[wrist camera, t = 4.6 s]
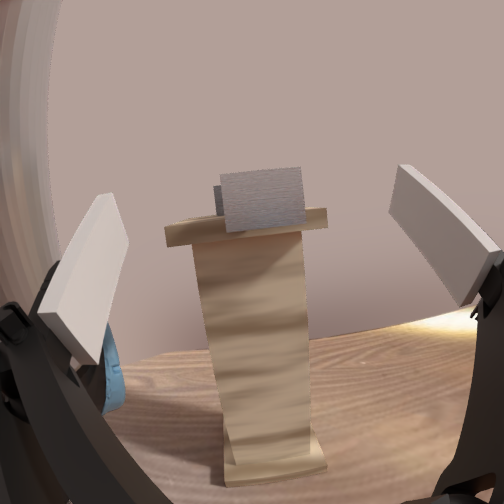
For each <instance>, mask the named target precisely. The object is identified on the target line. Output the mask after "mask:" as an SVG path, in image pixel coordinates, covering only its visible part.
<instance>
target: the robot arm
mask: <svg viewBox="0 0 504 504" xmlns="http://www.w3.org/2000/svg"><path fill="white" fill-rule="evenodd" d="M61 2H62V0H0V504H66V503H67V501H68V500H69V499H70V500H71V502H72V503H73V504H173V503H172V502H171V501H170V500H169V499H168V498H167V497H166V496H165V495H164V494H163V493H162V492H161V490H160V489H159V488H158V487H157V486H156V485H155V484H154V483H153V482H152V481H151V479H150V478H149V477H148V476H147V475H146V474H145V473H144V471H143V470H142V469H141V468H140V467H139V465H138V464H137V463H136V462H135V461H134V459H133V458H132V457H131V456H130V454H129V453H128V452H127V450H126V449H125V448H124V446H123V445H122V444H121V442H120V441H119V440H118V438H117V437H116V436H115V434H114V433H113V431H112V430H111V429H110V427H109V426H108V424H107V423H106V421H105V420H104V418H103V417H102V415H104V414H106V413H107V412H110V411H113V410H116V409H118V408H120V407H121V406H122V405H123V403H124V401H125V395H126V394H125V384H124V378H123V374H122V370H121V368H120V366H119V365H120V364H119V357H118V353H117V349H116V345H115V342H114V338H113V335H112V332H111V329H110V326H109V324H108V317H109V313H110V309H111V304H112V300H113V296H114V293H115V289H116V286H117V282H118V278H119V275H120V272H121V268H122V265H123V261H124V258H125V255H126V252H127V248H128V245H129V239H128V237H127V234H126V231H125V228H124V226H123V223H122V220H121V217H120V214H119V211H118V208H117V205H116V202H115V198H114V195H113V193H112V192H111V193H107V194H102V195H98V196H97V197H96V199H95V200H94V202H93V204H92V205H91V207H90V209H89V210H88V212H87V213H86V215H85V217H84V219H83V220H82V222H81V224H80V225H79V227H78V229H77V231H76V232H75V234H74V236H73V238H72V240H71V242H70V244H69V245H68V247H67V249H66V251H65V253H64V255H63V257H62V256H61V251H60V246H59V241H58V235H57V229H56V224H55V218H54V211H53V203H52V195H51V186H50V176H49V161H48V139H47V111H48V89H49V76H50V65H51V57H52V49H53V43H54V36H55V31H56V25H57V20H58V15H59V11H60V7H61ZM389 214H390V215H391V216H392V217H393V218H394V220H395V221H396V222H397V223H398V224H399V225H400V227H401V228H402V229H403V230H404V232H405V233H406V234H407V235H408V236H409V238H410V239H411V240H412V242H413V243H414V244H415V246H416V247H417V248H418V249H419V251H420V252H421V253H422V255H423V256H424V257H425V259H426V260H427V261H428V263H429V264H430V265H431V267H432V268H433V269H434V271H435V272H436V274H437V275H438V276H439V278H440V279H441V281H442V282H443V284H444V285H445V286H446V288H447V289H448V291H449V292H450V294H451V295H452V297H453V298H454V300H455V301H456V303H457V305H458V306H459V307H462V306H465V305H468V304H471V303H472V301H473V300H474V298H475V297H476V295H477V293H478V292H479V294H480V295H481V297H482V298H481V300H480V301H479V303H478V304H477V306H476V307H475V309H474V310H473V312H472V313H471V316H470V318H473V316H474V315H475V313H478V315H477V317H476V318H475V320H477V321H478V325H477V341H476V352H475V361H474V369H473V377H472V383H471V389H470V395H469V400H468V405H467V410H466V415H465V419H464V423H463V427H462V431H461V435H460V439H459V442H458V446H457V449H456V452H455V455H454V458H453V460H452V461H451V463H450V464H449V465H448V466H447V467H446V469H445V470H444V471H443V473H442V474H441V476H440V478H439V480H438V482H437V485H436V487H435V489H434V492H433V494H432V496H431V497H429V498H424V499H418V500H412V501H406V502H403V503H401V504H504V252H503V251H502V250H501V249H500V248H499V246H498V245H497V244H496V243H495V242H494V241H493V240H492V239H491V238H490V237H489V236H488V234H486V233H485V231H484V230H483V229H482V228H480V226H479V225H478V224H477V223H476V222H475V221H474V220H473V219H472V218H470V217H469V216H468V215H467V214H466V213H465V212H464V211H463V210H462V209H461V208H460V207H459V206H458V205H457V204H456V203H455V202H454V201H453V200H451V199H450V198H449V197H448V196H447V195H446V194H445V193H444V192H442V191H441V190H440V189H439V188H438V187H437V186H436V185H434V184H433V183H432V182H431V181H430V180H428V179H427V178H426V177H425V176H424V175H422V174H421V173H420V172H419V171H418V170H416V169H415V168H414V167H412V166H411V165H398V169H397V174H396V180H395V185H394V190H393V195H392V200H391V205H390V209H389ZM490 488H494V489H493V493H492V496H491V498H490V501H489V503H487V502H485V501H483V500H481V499H479V498H476V497H474V496H475V495H476V494H477V493H479V492H480V491H484V490H487V489H490Z"/></svg>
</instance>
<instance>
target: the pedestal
mask: <svg viewBox="0 0 504 504" xmlns="http://www.w3.org/2000/svg"><path fill="white" fill-rule="evenodd" d="M305 212H306V222H307V224H298V225H289V226H280V227H271V228H263V229H254V230H246V231H238V232H230V233H227V232H226V224H225V215H224V216H217V215H211V216H205V217H196V218H189V219H186V220H183V221H180V222H177V223H174V224H172V225H169V226H166V227H164V229H165V235H166V243H167V247H174V246H182V245H190V244H192V250H193V257H194V263H195V269H196V276H197V282H198V289H199V295H200V301H201V307H202V313H203V318H204V324H205V329H206V335H207V340H208V345H209V350H210V355H211V360H212V365H213V370H214V375H215V379H216V384H217V389H218V393H219V398H220V402H221V406H222V411H223V438H224V482H225V485H226V487H240V486H250V485H259V484H266V483H273V482H279V481H285V480H291V479H296V478H301V477H306V476H311V475H315V474H319V473H323V472H327V466H328V465H327V462H326V460H325V457H324V455H323V452H322V450H321V447H320V445H319V442H318V440H317V437H316V435H315V432H314V430H313V427H312V425H311V420H310V363H309V337H308V317H307V299H306V285H305V270H304V257H303V245H302V234H301V231H304V230H313V229H322V228H328V221H327V210H326V208H315V207H305Z"/></svg>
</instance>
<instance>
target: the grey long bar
mask: <svg viewBox="0 0 504 504" xmlns="http://www.w3.org/2000/svg"><path fill="white" fill-rule="evenodd" d="M220 181H221V185H220V186H214V195H215V203H216V212H217V216H224V215H225V224H226V232H227V233H230V232H238V231H246V230H254V229H263V228H271V227H280V226H289V225H298V224H307V222H306V212H305V202H304V193H303V184H302V175H301V167H292V168H279V169H268V170H257V171H247V172H239V173H230V174H221V175H220Z"/></svg>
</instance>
